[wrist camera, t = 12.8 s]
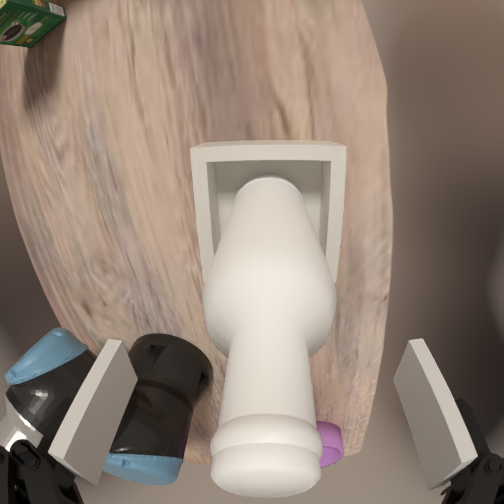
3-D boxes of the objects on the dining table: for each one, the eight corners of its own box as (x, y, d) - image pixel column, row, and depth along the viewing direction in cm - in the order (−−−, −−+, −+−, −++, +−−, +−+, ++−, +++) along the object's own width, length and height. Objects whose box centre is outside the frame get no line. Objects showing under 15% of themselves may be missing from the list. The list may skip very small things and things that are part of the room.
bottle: (299, 238, 36) (347, 505, 9) (235, 235, 36) (170, 499, 9) (305, 173, 32) (433, 419, 5) (235, 170, 33) (107, 411, 6)
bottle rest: (327, 258, 38) (336, 282, 32) (212, 259, 39) (203, 282, 33) (333, 141, 31) (346, 146, 26) (203, 143, 32) (190, 148, 27)
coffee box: (66, 4, 23) (7, -14, 11) (68, 17, 24) (7, 0, 12) (28, 36, 24) (-31, 30, 12) (31, 48, 25) (-31, 44, 14)
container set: (343, 416, 54) (351, 467, 42) (337, 445, 60) (343, 488, 49) (229, 425, 57) (223, 475, 45) (240, 452, 63) (236, 494, 51)
